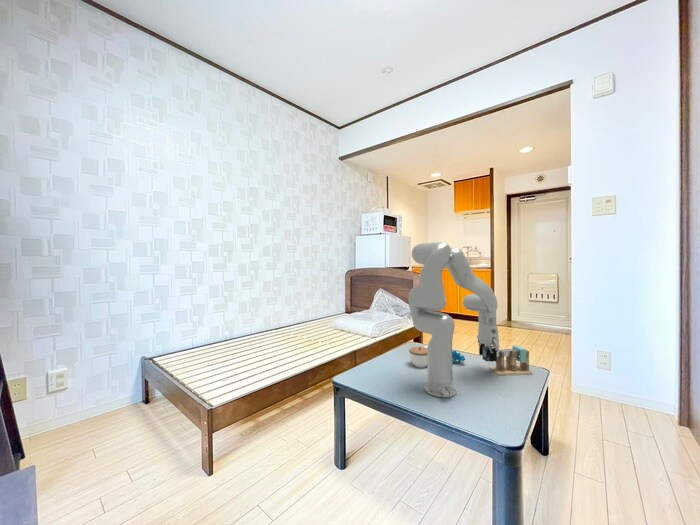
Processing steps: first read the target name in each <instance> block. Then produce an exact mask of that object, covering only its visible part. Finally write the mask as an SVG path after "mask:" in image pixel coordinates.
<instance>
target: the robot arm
mask: <svg viewBox="0 0 700 525" xmlns="http://www.w3.org/2000/svg"><path fill="white" fill-rule="evenodd" d="M411 257H412V260H413V261H414V262H415V263H417V264H419V265H423V266H422V268H421V269H420V272H419V282H420V283H419V284H420V285H415V286H414V287H412V288H411V289H410V290H409V293H408V299H407V300H408V301H407V302H408V306H409V311H410V316H411V319H412V324H413V326H414V328H415V329H416V330H417V331H418V332H421V333H424V334H428V335H431V338H430V339H429V341H428V342H427V347H426V348H427V350H428V365H427V382H426V383H424V385H423V389H424V391H425V393H427V394H428V395H430V396H433V397H437V398H451V397H454V396H456V395H457V392H458V391H457V387H456V386H454V385H453V364H452V351H453V337H454V332H455V320H454V319H453V317H452V316H450V315H449V314H447V313H444V312H440V311H442V310H444V309H445V308H446V305H447V299H446V293H445V288H444V283H443V270H444V268H447V270H448V271H449V273H450V275H451V277H452V279H453V281H454V283H455V284H456V285H457V286H459V287H460V288H463V289H465V290H467V291H469V292H472V293H471V294H467V295H465V296H464V298H463V299H462V304H463V307H464V308H465V309H466V310H467V311H472V312H478V329H477V330H478V333H477V335H476V338H477V342H478V354H479V356H483V348H482V346H488V347H489V350H490V352H489V361H488V362H492V363H493V362H496V361H497V351H498V349H499V350H500V341H499V337H500V336H499V330H498V325H497V310H498V299H497V296H496V294H495V292H494V290H493V289H492V288H491V286H489V285H488V284H487V283H486V282H485V281H484V280H482V279H481V278H480V277H478V276H477V275H476V274H475V273H474V271H473V269H472V268H471V265H470V263H469V261H468V260H467V257H466V256H465V253H464V252H463V250H462V249H460V248H458V247H451V246H450V245H449V244H448V243H447V242H442V241H440V242H439V241H438V242H426V243H425V242H423V243H418V244H416V245H414V247H413V248H412V250H411ZM491 347H492V348H493V349H492V348H491Z"/></svg>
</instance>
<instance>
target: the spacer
mask: <svg viewBox="0 0 700 525" xmlns="http://www.w3.org/2000/svg"><path fill="white" fill-rule="evenodd" d="M512 349H516V350H518V351H520V356H516V362H519V363H520V362H521V363H525V362H526V350H527V349H526V348H524V347H522V346H520V345H512Z"/></svg>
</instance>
